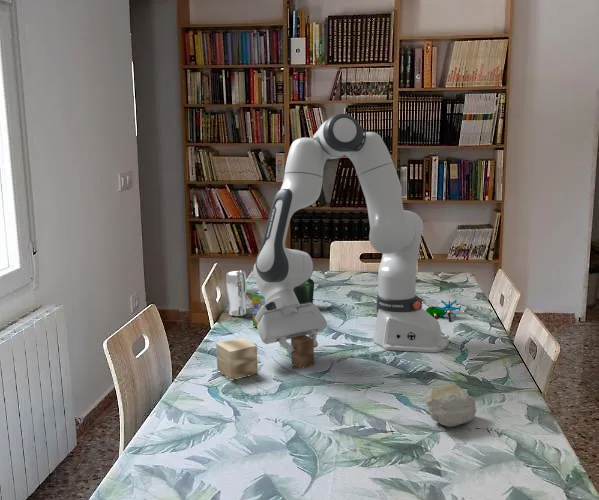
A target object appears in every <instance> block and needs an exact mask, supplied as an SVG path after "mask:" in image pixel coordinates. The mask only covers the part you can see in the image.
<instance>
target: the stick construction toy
mask: <svg viewBox="0 0 599 500" xmlns="http://www.w3.org/2000/svg"><path fill="white" fill-rule="evenodd" d="M440 301H441V303H442V304H443V305H444V306H443V307H441V306H438V305H436V306H429V307H427V308H426V309H425V311H426V312H427V313H429V314H430V315H431V316H433V317H434V318H435V319H436V320H438V319H437V317H441V318H443V317H444V316H446V315H447V317H448V322H449V323H451V322H452V317H451V316H454V317H457V314H455V313H454V312H453V311H455V310H458V311H459V312H461V309H462V306H461V305H459V306H457V307H456V306H453V305H454V304H456V303H457V299H454V300H453V301H452V302H451V301H450V300H448V303H447V302H445V301H444V300H443V299H441V300H440Z"/></svg>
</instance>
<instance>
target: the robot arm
mask: <svg viewBox="0 0 599 500" xmlns="http://www.w3.org/2000/svg"><path fill="white" fill-rule="evenodd" d="M389 151H390V150H389V149H388V147H387V145H386V144H385V142H384V140H383V138H382V137H381V135H380V134H378V133H377V132H374V131H366V129H365V128H364V127H363V126H362V125H361V124H360V123H359V122H358V121H357V119H356V118H354V117H353V116H351V115H350V114H348V113H338V114H334V115H332V116H330V117H329V118H328V119H327V120H325V121H323V123H322V124H321V125H320V126H319V128H318V129H317V130H316V131H315V132H314V134H313V135H312V137H299V138H297V139H295V140H294V141H292V143H291V145H290V147H289V150H288V154H287V157H286V162H285V168H284V174H283V175H284V176H283V181H282V185H281V187H280V189H279V190H278V191H277V192H276V193H275V195H274V197H273V199H272V202H271V203H272V204H271V207H270V210H269V215H268V217H267V223H266V226H265V231H264V235H263V239H262V243H261V245H260V247H259V248H260V249H259V250H258V253H257V256H256V259H255V263H254V265H253V271H252V272H253V276H254V279H255V283H256V286H257V288H258V291H260V293H261V294H262V295H263V296H264V298H265V303H266V304H265V305H263V306H262V307H261V308H260V310H259V311H258V313H257V315H256V317H255V320H256V322H257V323H258V325H257V328H256V329H257V331H258V332H257V333H258V335H259V337H260V340H261V341H262V343H263V344H265V345H269V344H274V343H279V346H281V347H282V348H283V349H285V350H286V352H287V355H291V353H294V352H295V349H294V346H293V345H291V344H290V343H288V342H287V340H291V338H293V337H298V336H302V335H306V336H308V337H310V338H312V339H314V349H315V348H317V347H318V346H319V343H318V341H317V337H318V336H317V335H318V333H322V332H323V331H325V329H326V328H327V325H328V322H327V320H326V318H325V316H324V315H323V313H322V311H320V308H319V307H318V305H317V304H315V303H314V302H313V303H311V302H309V303H305V304H299V302H298V299H297V297H296V295H295V293H294V291H293V289H294V288H295V287H297V286H299V285H301V284H303V283H305V282H306V281H307V280H309V278H310V279H311V277H312V276H313V273H314V267H315V266H314V261H313V259H312V257H311V255H310V254H309V253H308V252H306V251H303V250H299V249H291V248H287V247H286V245H285V244H286V240H287V234H288V230H289V226H290V221H291V218H292V217H293V215H294V213H296V212H297V211H300V210H302V209H304V208H305V209H306V208H307V207H309V206H312V205H313V204H314V203H316V202H317V200H319V198H320V195H321V192H322V187H323V186H322V185H323V179H324V168H325V164H326V162H331V161H336V160H339V159H340V158H341V157H344V156H345V157H347V158H348V159H349V160H350V161H351V163H352V165H353V166H354V169H355V173H356V176H357V178H358V181H359V184H360V186H361V190H362V192H363V196H364V198H365V203H366V208H367V213H368V214H367V215H368V216H367V217H368V222H369V234H368V239H369V243H370V245H371V248H373V249H374V250H375V251H376V252H378V253H379V254H382V255H381V261H380V264H379V267H378V270H377V271H378V273H377V274H378V277H377V281H378V282H377V284H378V287H377V288H378V289H377V292H378V293H377V294H376V302H375V303H376V304H375V305H376V313H377V317H376V323H375V329H374V333H373V336H372V341H373V342H374V343H375V344H377V345H378V346H381V347H382V348H383V349H384V350H387V351H398V352H399V351H400V352H401V351H403V352H419V353H420V352H421V353H439V352H442V351H444V350H445V349H446V348H447V347H448V346H449V341H450V340H449V337H448V336H447V335H446V334H442V330H441V329H442V328H441V324H440V322H439V321H438V319H435V317H434V316H431V315H430V314H429V313H427V312H426V309H425V308H423V300H424V299H423V297H422V296H421V297H419V295H417V293H416V288H417V287H416V281H417V280H416V278H417V277H416V275H417V266H418V258H419V253H420V247H421V238H422V233H423V231H424V222H423V220H422V218H421V217H420V215H418V213H416V212H413V211H411V210H407V209H406V210H405V209H404V205H403V204H404V203H403V196H402V195H403V194H402V193H403V188H402V187H403V186H402V184H401V182H400V178H399V176H398V173H397V169H396V167H395V163H394V162H393V159H392V155H391V153H390V152H389Z"/></svg>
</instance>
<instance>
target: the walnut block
mask: <svg viewBox="0 0 599 500" xmlns="http://www.w3.org/2000/svg"><path fill="white" fill-rule="evenodd" d="M290 345H293V346H294V349H295V352H294V353H291V354H290V355H291V364H292V365H293V364H294V365H293V366H295V365H296V366H295V367H297V368H298V367H299V369H300V368H301V369H304V368H303V367H305V368H309V367H312V366H314V365H315V350H314V349H315V348H314V339H312V337H311V338H310V337H309V335H302V336H298V337H293V338H291V339H290Z"/></svg>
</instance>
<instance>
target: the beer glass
mask: <svg viewBox="0 0 599 500" xmlns="http://www.w3.org/2000/svg"><path fill="white" fill-rule="evenodd" d="M225 278H226V281H225V284H226V285H225V286H226V293H227V298H228V303H229V311H228V315H229V314H230V315H237V316H238V315H243V314H245V313H246V314H247V310H246V295H247V277H246V271H244V270H231V271H228V272H226V277H225Z"/></svg>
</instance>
